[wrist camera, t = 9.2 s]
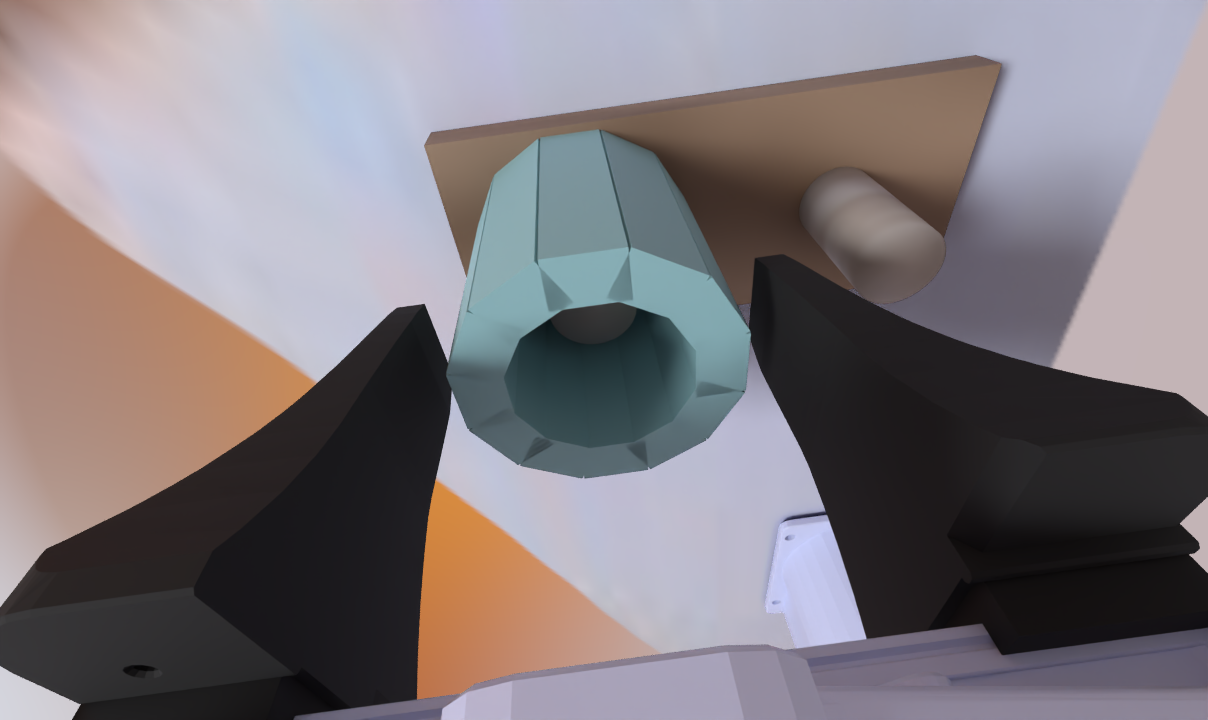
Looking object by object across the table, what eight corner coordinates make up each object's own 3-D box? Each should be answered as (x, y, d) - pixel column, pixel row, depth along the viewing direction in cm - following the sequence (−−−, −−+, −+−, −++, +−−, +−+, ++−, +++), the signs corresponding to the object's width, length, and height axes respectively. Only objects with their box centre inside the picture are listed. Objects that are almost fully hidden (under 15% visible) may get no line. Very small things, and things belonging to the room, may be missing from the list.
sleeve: (685, 306, 17) (740, 457, 12) (507, 331, 17) (492, 491, 12) (683, 117, 13) (759, 228, 8) (455, 149, 13) (406, 278, 8)
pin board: (913, 262, 17) (1004, 347, 14) (489, 321, 17) (475, 421, 14) (976, 55, 14) (1122, 103, 10) (431, 133, 14) (392, 206, 10)
